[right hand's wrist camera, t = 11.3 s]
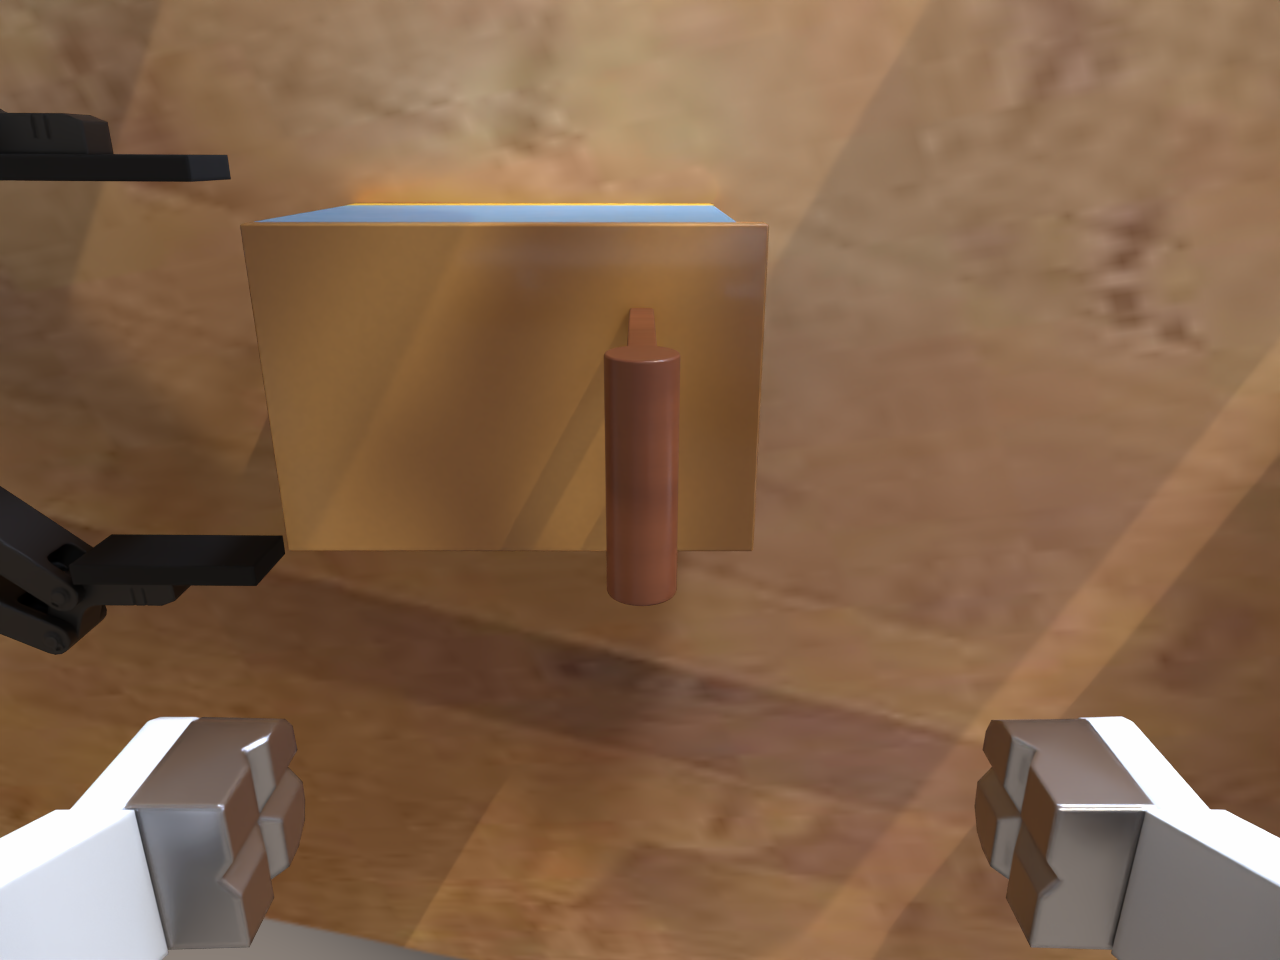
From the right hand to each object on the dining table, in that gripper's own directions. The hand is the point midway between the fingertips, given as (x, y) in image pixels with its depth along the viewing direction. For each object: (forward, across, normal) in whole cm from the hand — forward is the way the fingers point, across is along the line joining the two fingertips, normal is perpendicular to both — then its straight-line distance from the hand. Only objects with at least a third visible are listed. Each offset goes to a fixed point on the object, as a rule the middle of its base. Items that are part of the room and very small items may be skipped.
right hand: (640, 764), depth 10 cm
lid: (+17, -4, 0) cm, 18 cm away
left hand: (+21, -14, 0) cm, 25 cm away
